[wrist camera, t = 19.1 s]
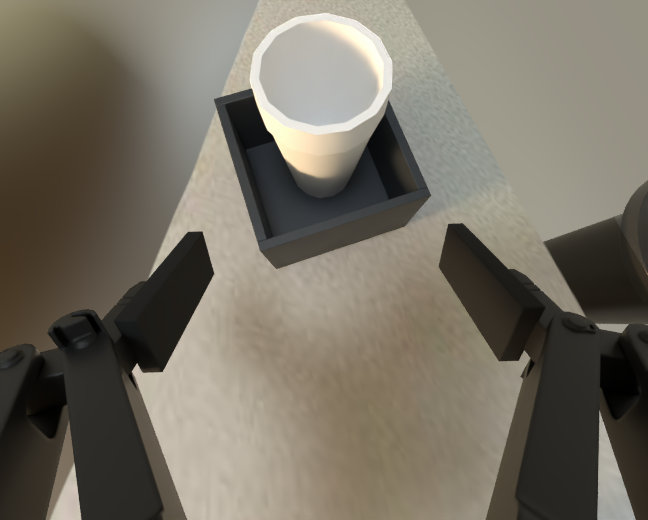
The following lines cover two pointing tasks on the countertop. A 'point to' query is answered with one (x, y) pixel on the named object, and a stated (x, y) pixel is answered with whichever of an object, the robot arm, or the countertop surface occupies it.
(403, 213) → the dark grey open box
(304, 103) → the foam cup
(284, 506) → the countertop surface
